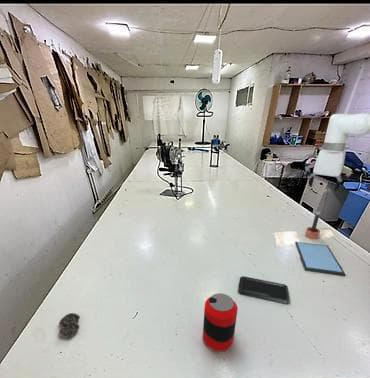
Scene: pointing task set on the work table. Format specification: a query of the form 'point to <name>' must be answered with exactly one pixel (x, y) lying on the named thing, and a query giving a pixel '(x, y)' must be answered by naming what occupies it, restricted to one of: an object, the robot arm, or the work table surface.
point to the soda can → (219, 322)
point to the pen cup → (312, 233)
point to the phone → (264, 289)
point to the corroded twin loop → (69, 325)
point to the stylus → (315, 221)
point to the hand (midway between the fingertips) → (322, 188)
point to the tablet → (318, 259)
